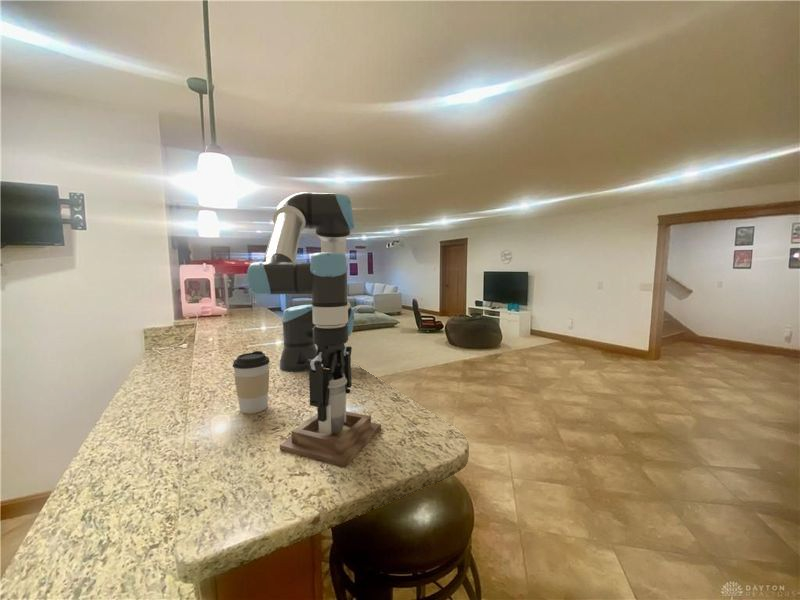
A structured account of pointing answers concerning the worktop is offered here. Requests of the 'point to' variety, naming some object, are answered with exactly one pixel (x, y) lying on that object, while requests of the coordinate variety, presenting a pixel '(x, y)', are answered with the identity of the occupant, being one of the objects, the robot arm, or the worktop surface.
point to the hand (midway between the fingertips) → (333, 426)
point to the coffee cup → (252, 381)
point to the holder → (332, 439)
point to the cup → (337, 402)
